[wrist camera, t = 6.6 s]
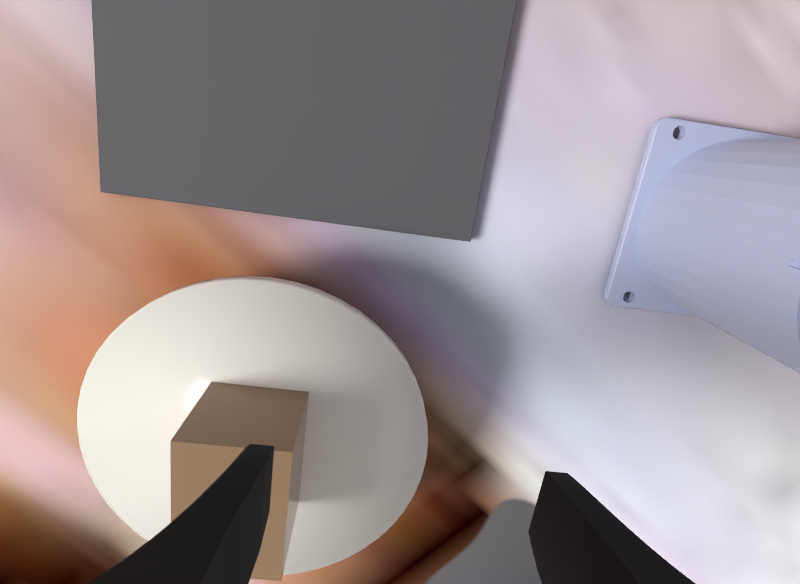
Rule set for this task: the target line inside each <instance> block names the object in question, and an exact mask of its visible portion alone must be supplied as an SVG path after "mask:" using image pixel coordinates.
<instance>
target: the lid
mask: <svg viewBox="0 0 800 584" xmlns="http://www.w3.org/2000/svg"><path fill="white" fill-rule="evenodd" d="M77 430H78V436H79V443H80V449H81V452H82V455H83V458H84V461H85V464H86V468H87V470H88V472H89V474H90V476H91V478H92V480H93V482H94V484H95V486H96V488H97V489H98V491H99V492H100V494H101V495H102V497H103V498H104V500H105V501H106V503H107V504H108V505H109V506H110V507H111V508H112V510H113V511H114V512H115V513H116V514H117V515H118V517H119V518H120V519H121V520H123V521H124V522H125V523H126V524H127V525H128V526H129V527H130V528H131V529H132V530H134V531H135V532H136V533H137V534H139V535H140V536H141V537H143V538H144V539H146V540H147V541H149V540H150V539H152V538H153V537H154V536H155V535H156V534H158V533H159V532H160V531H161V530H163V529H164V528H165V527H166V526H167V525H168V524H170V523H171V522H172V521H173V520H174V519H175V518H176V517H177V516H179V515H180V514H181V513H182V512H183V511H184V510H185V509H186V508H187V507H189V506H190V505H191V504H192V503H193V502H194V501H195V500H196V499H197V498H198V497H199V496H200V495H201V494H202V493H203V492H204V491H205V490H206V489H207V488H208V487H209V486H210V485H211V484H212V483H213V482H214V481H215V480H216V479H217V478H218V477H219V476H220V475H221V474H222V473H223V472H224V471H225V470H226V469H227V468H228V467H229V466H230V464H231V463H232V462H233V461H234V460H235V459H236V458H237V457H238V455H239V454H240V453H241V452H242V451H243V450H244V448H245V447H246V446H248V445H249V444H259V445H270V446H274V458H273V472H272V485H271V499H270V511H269V515H268V520H267V524H266V528H265V532H264V536H263V540H262V544H261V548H260V552H259V555H258V558H257V560H256V563H255V566H254V569H253V572H252V574H251V577H250V579H263V580H277V581H282V576H283V575H291V574H297V573H302V572H307V571H312V570H315V569H319V568H322V567H325V566H329V565H331V564H334V563H336V562H338V561H341V560H343V559H346V558H348V557H350V556H351V555H353V554H355V553H357V552H359V551H360V550H362V549H364V548H365V547H367V546H368V545H370V544H371V543H372V542H374V541H375V540H376V539H378V538H379V537H380V536H381V535H382V534H383V533H385V532H386V531H387V530H388V529H389V528H390V527H391V526H392V525H393V524H394V523H395V522H396V520H397V519H398V518H399V517H400V515H401V514H402V513H403V512H404V511H405V509H406V507H407V506H408V504H409V503H410V501H411V499H412V498H413V496H414V494H415V492H416V489H417V487H418V485H419V483H420V480H421V478H422V474H423V470H424V467H425V463H426V457H427V448H428V427H427V418H426V413H425V407H424V402H423V397H422V394H421V391H420V388H419V385H418V382H417V380H416V377H415V375H414V373H413V371H412V369H411V367H410V366H409V364H408V362H407V360H406V358H405V357H404V355H403V354H402V353H401V351H400V350H399V348H398V347H397V346H396V344H395V343H394V342H393V341H392V339H391V338H390V337H389V336H388V335H387V334H386V333H385V332H384V331H383V330H382V329H381V328H380V327H379V326H378V325H377V324H376V323H374V322H373V321H372V320H371V319H369V318H368V317H367V316H366V315H364V314H363V313H362V312H361V311H359V310H358V309H356V308H354V307H353V306H351V305H349V304H348V303H346V302H345V301H343V300H341V299H339V298H337V297H335V296H333V295H331V294H328V293H326V292H324V291H322V290H320V289H317V288H314V287H311V286H307V285H304V284H301V283H298V282H295V281H289V280H284V279H278V278H273V277H261V276H232V277H220V278H214V279H209V280H204V281H199V282H195V283H192V284H189V285H186V286H183V287H180V288H177V289H175V290H173V291H171V292H168V293H166V294H164V295H162V296H160V297H158V298H156V299H154V300H153V301H151V302H150V303H149V304H147V305H146V306H144V307H143V308H141V309H140V310H138V311H137V312H135V313H134V314H133V315H131V316H130V317H129V318H127V319H126V320H125V321H124V322H123V323H122V324H121V325H120V326H119V327H118V328H116V329H115V330H114V331H113V332H112V333H111V334H110V335H109V337H108V338H107V339H106V341H105V342H104V343H103V344H102V346H101V347H100V348H99V350H98V351H97V353H96V355H95V356H94V358H93V360H92V362H91V364H90V366H89V367H88V369H87V372H86V375H85V378H84V381H83V384H82V387H81V390H80V396H79V402H78V408H77Z"/></svg>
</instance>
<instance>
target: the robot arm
mask: <svg viewBox="0 0 800 584" xmlns="http://www.w3.org/2000/svg"><path fill="white" fill-rule="evenodd" d="M676 127H678V128H679V130H680V134H679V136H678V137H677V138H676V139H675V138H674V137H673V131H674V129H675V128H676ZM627 292H630V296H629V298H627V299H626V300H623V296H624V294H625V293H627ZM604 299H605V300H606V301H607V302H608V303H609V304H611V305H613V306H619V307H627V308H635V309H643V310H651V311H659V312H667V313H675V314H683V315H691V316H698V317H700V318H702V319H703V320H705V321H707V322H709V323H711V324H712V325H714V326H716V327H718V328H720V329H721V330H723V331H725V332H727V333H729V334H730V335H732V336H734V337H736V338H738V339H739V340H741V341H743V342H745V343H747V344H748V345H750V346H752V347H754V348H755V349H757V350H759V351H761V352H763V353H764V354H766V355H768V356H770V357H772V358H773V359H775V360H777V361H779V362H781V363H782V364H784V365H786V366H788V367H790V368H791V369H793V370H795V371H797V372H799V373H800V139H798V138H792V137H786V136H780V135H774V134H768V133H761V132H755V131H749V130H743V129H737V128H731V127H725V126H719V125H712V124H706V123H700V122H694V121H688V120H682V119H676V118H661V119H659V120H657V121H656V122H655V123H654V124H653V126H652V128H651V131H650V134H649V138H648V141H647V145H646V148H645V152H644V155H643V158H642V162H641V165H640V169H639V172H638V176H637V179H636V183H635V186H634V190H633V193H632V197H631V200H630V203H629V207H628V210H627V214H626V217H625V221H624V224H623V228H622V231H621V235H620V238H619V241H618V245H617V248H616V252H615V255H614V259H613V262H612V266H611V269H610V273H609V276H608V280H607V283H606V286H605V290H604ZM273 458H274V446H270V445H259V444H249V445H248V446H246V447H245V448H244V450H243V451H242V452H241V453H240V454H239V455H238V457H237V458H236V459H235V460H234V461H233V462H232V463H231V464H230V466H229V467H228V468H227V469H226V470H225V471H224V472H223V473H222V474H221V475H220V476H219V477H218V478H217V479H216V480H215V481H214V482H213V483H212V484H211V485H210V486H209V487H208V488H207V489H206V490H205V491H204V492H203V493H202V494H201V495H200V496H199V497H198V498H197V499H196V500H195V501H194V502H193V503H192V504H191V505H190V506H189V507H187V508H186V509H185V510H184V511H183V512H182V513H181V514H180V515H179V516H177V517H176V518H175V519H174V520H173V521H172V522H171V523H170V524H168V525H167V526H166V527H165V528H164V529H163V530H161V531H160V532H159V533H158V534H156V535H155V536H154V537H153V538H152V539H150V540H149V541H148V542H146V543H145V544H144V545H143V546H141V547H140V548H139V549H137V550H136V551H135V552H133V553H132V554H131V555H129V556H128V557H127V558H125V559H124V560H122V561H121V562H120V563H118V564H117V565H115V566H114V567H112V568H111V569H110V570H108V571H107V572H105V573H104V574H102V575H101V576H99V577H98V578H96V579H95V580H93V581H92V582H90V583H89V584H248V583H249V580H250V577H251V574H252V572H253V569H254V566H255V563H256V560H257V558H258V555H259V552H260V548H261V544H262V540H263V536H264V532H265V528H266V524H267V520H268V515H269V511H270V499H271V485H272V472H273ZM529 536H530V540H531V545H532V549H533V554H534V557H535V562H536V565H537V570H538V573H539V576H540V579H541V581H542V584H695V583H694V582H693V581H691V580H690V579H688V578H687V577H686V576H685V575H683V574H682V573H681V572H679V571H678V570H677V569H676V568H674V567H673V566H672V565H671V564H669V563H668V562H667V561H666V560H665V559H663V558H662V557H661V556H660V555H659V554H657V553H656V552H655V551H654V550H653V549H651V548H650V547H649V546H648V545H647V544H645V543H644V542H643V541H642V540H641V539H640V538H639V537H637V536H636V535H635V534H634V533H633V532H632V531H631V530H630V529H628V528H627V527H626V526H625V525H624V524H623V523H622V522H621V521H620V520H618V519H617V518H616V517H615V516H614V515H613V514H612V513H611V512H610V511H609V510H608V509H607V508H605V507H604V506H603V505H602V504H601V503H600V502H599V501H598V500H597V499H596V498H595V497H594V496H593V495H591V494H590V493H589V492H588V491H587V490H586V489H585V488H584V487H583V486H582V485H581V484H579V483H578V482H577V481H576V480H575V479H574V478H573V477H571V476H570V475H569V474H568V473H559V472H549V471H546V472H545V475H544V479H543V482H542V486H541V489H540V493H539V496H538V500H537V503H536V507H535V510H534V514H533V517H532V521H531V525H530V528H529Z"/></svg>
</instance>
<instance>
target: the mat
mask: <svg viewBox="0 0 800 584" xmlns="http://www.w3.org/2000/svg"><path fill="white" fill-rule="evenodd" d="M515 6H516V0H92V19H93V39H94V60H95V81H96V102H97V122H98V143H99V164H100V185H101V192H105V193H112V194H120V195H127V196H134V197H142V198H149V199H157V200H164V201H172V202H179V203H186V204H194V205H201V206H209V207H216V208H224V209H231V210H239V211H246V212H253V213H261V214H268V215H276V216H283V217H291V218H298V219H305V220H313V221H320V222H328V223H335V224H343V225H350V226H357V227H365V228H372V229H380V230H387V231H395V232H402V233H410V234H417V235H424V236H432V237H439V238H447V239H454V240H462V241H469V242H470V240H471V235H472V230H473V224H474V219H475V214H476V209H477V204H478V198H479V193H480V188H481V183H482V178H483V172H484V167H485V162H486V157H487V151H488V146H489V141H490V136H491V131H492V125H493V120H494V115H495V110H496V105H497V99H498V94H499V89H500V84H501V79H502V73H503V68H504V63H505V58H506V53H507V47H508V42H509V37H510V32H511V26H512V21H513V16H514V11H515Z"/></svg>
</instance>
